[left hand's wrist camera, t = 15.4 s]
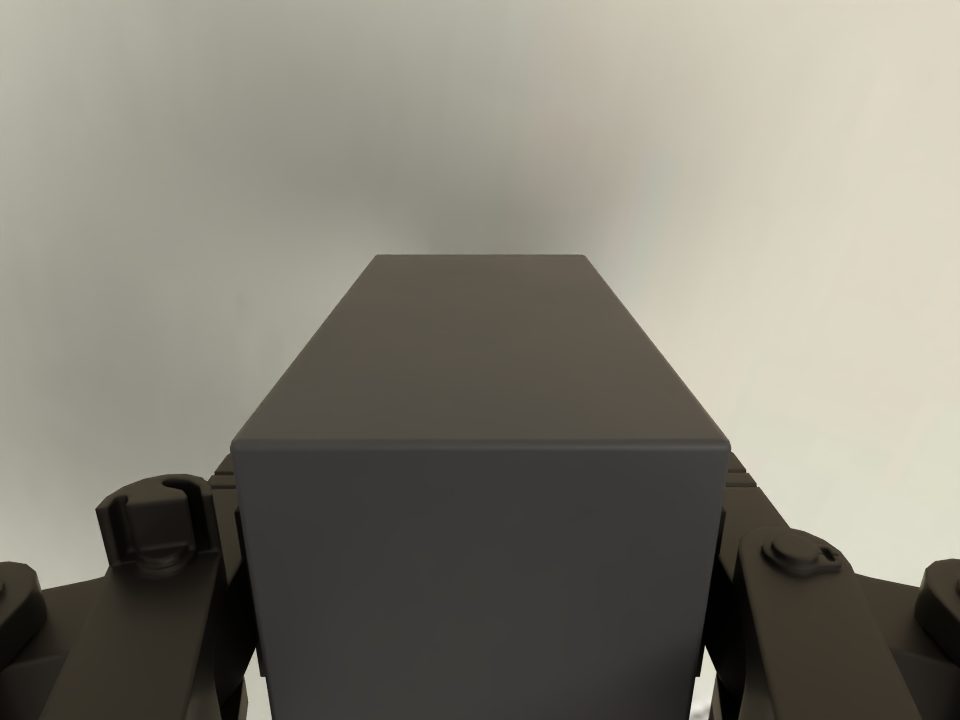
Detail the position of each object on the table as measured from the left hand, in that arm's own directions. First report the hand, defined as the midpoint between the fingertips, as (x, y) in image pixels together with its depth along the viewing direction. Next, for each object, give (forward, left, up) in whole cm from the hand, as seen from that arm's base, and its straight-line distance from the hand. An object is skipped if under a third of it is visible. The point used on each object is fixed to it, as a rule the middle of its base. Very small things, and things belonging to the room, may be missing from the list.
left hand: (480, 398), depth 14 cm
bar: (+9, -6, -1) cm, 11 cm away
